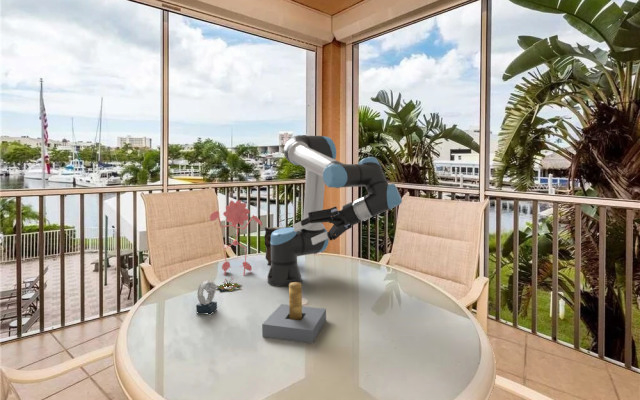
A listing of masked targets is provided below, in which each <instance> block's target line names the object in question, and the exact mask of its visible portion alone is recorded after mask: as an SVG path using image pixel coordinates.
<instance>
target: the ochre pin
mask: <svg viewBox="0 0 640 400" xmlns="http://www.w3.org/2000/svg"><path fill="white" fill-rule="evenodd" d="M302 287H303V285H302V283H301V282H300V283H299V282H292V283H290V284H289V286H288V305H289V319H291V320H300V321H301V320H302V306H303V304H302V303H303V299H302V298H303V297H302V295H303V294H302V292H303V291H302Z"/></svg>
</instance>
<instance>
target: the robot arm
mask: <svg viewBox="0 0 640 400" xmlns="http://www.w3.org/2000/svg"><path fill="white" fill-rule="evenodd" d="M283 154H284V157H285V159H286V160H287V161H288V162H289V163H291V164H293V165H295V166H301V167H302V168H304V169H305V170H306V171H305V186H304V200H303V216H302V217H303V218H302V220H300V221H298V222H296V223H294V224H292V227H291V226H290V227H289V226H288V227H289V228H281V229H278V230H275V231H274V232H272V234H271V241H270V244H271V266H269V270H268V274H267V279H266V280H267V283H268V285H269V284H270V285H271V286H275V287H289V284H290V283H292V282H299V283H301V282H302V273H301V269H300V268H299V265H298V257H301V256H308V255H313V254H314V255H315V254H320V253H323V252H324V251H325V250H326V249H327V247H328V245H329V242H330V241H333V240H336V239H338V238H339V237H340V236H341V235H343V234H344V233H345V232H346V231H348V230H351V228H353V226H354V225H357V224H359V223H361V221H362V222H364V221H365V220H369V219H370V218H372V217H375V216H378V215H380V214H382V213H384V212H387V211H389V210H392V209H393V208H395V207H398V206H399V205H401V204H402V202H403V200H402V196H401V194H400V192H399V190H398V188H397V186H396V184H395V183H391V184H389V183H388V180H387V177H386V176H385V172H384V170H383V168H382V165H381V164H380V162H379V161H378V158H376V157H375V156H368V157H364V158H363V159H361V160H360V161H359V162H358V163H351V164H349V163H348V164H346V163H342V162H340V161H338V160H336V158H337V147H336V144H335V142H334V141H333V139H332V138H331V137H329V136H324V135H302V134H299V135H294V136H291V137H290V138H289V139H287V141H286V142H285V144H284V145H283ZM325 185H326V186H327V187H328V188H336V189H341V188H353V187H355V188H356V187H365V190H366V192H367V193H368V194H366V195H364V196H362V197H359V198H357V199H355V200H353V201H352V202H349V203H346V204H344V205H342V209H341V210H338V208H337V206H333V207H330V208H325V209H324V197H325V189H326V188H325ZM323 223H329V224H333V225H332V226H331V228H330V229H329V230H327V228H326V227H325V224H323Z"/></svg>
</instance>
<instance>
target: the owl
mask: <svg viewBox="0 0 640 400" xmlns="http://www.w3.org/2000/svg"><path fill="white" fill-rule="evenodd" d="M281 228H289V226H285V227H283V226H280V227H279V226H274V227H266V226H265V227H264V231H265V233H264V245H265V248H266V250H265V259H266V261H267V266H269V267H271V244H270V241H271V234H272V232H274V231H275V230H278V229H281Z"/></svg>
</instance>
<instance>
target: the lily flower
mask: <svg viewBox="0 0 640 400" xmlns="http://www.w3.org/2000/svg"><path fill="white" fill-rule="evenodd" d="M231 278H232V276H231ZM231 278H230V279H231ZM222 283H223V284H219V285H220V286H219V287H218V286H217V288H220V289H224V290H228V291H229V292H231V291H232V292H233V291H234V290H236V289H235V288H234V287H237V288H239V289H238V290H242V288H241V287H242V286H243V285H241V284H239V283H238V282H234V277H233V278H232V279H231V280H228V279H227V278H225V279H224V282H222ZM226 283H227V284H226ZM232 284H234V285H232ZM223 285H224V286H223ZM226 286H227V288H226V289H225V288H224V287H226ZM229 286H233V288H232V287H229ZM240 286H241V287H240ZM228 287H229V288H228ZM230 288H231V289H230ZM220 289H219V290H220ZM233 289H234V290H233Z"/></svg>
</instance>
